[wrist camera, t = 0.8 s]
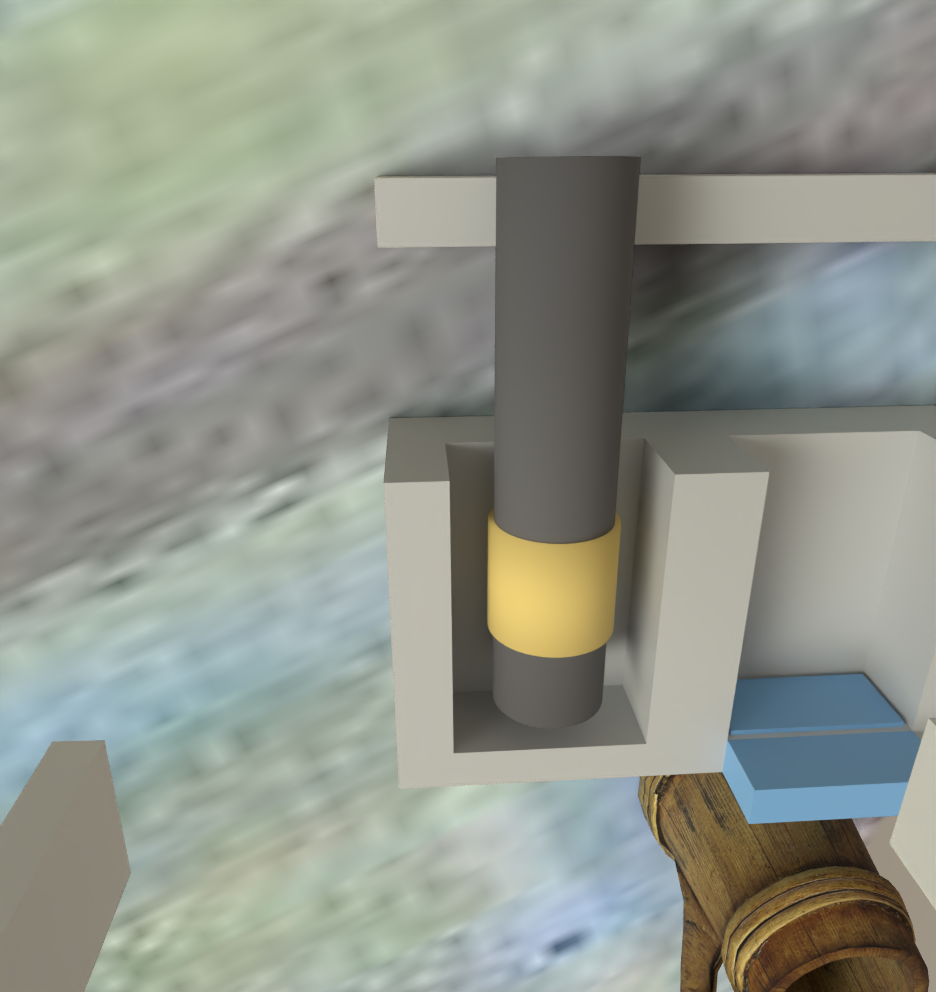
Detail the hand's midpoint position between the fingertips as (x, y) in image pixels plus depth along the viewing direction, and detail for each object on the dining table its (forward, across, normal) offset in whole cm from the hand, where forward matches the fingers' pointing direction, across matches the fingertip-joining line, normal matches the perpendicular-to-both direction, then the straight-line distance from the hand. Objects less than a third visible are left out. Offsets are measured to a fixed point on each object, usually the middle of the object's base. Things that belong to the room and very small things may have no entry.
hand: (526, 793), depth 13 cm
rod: (+16, +3, 0) cm, 16 cm away
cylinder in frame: (+19, +8, -1) cm, 21 cm away
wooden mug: (+19, +12, -19) cm, 30 cm away
